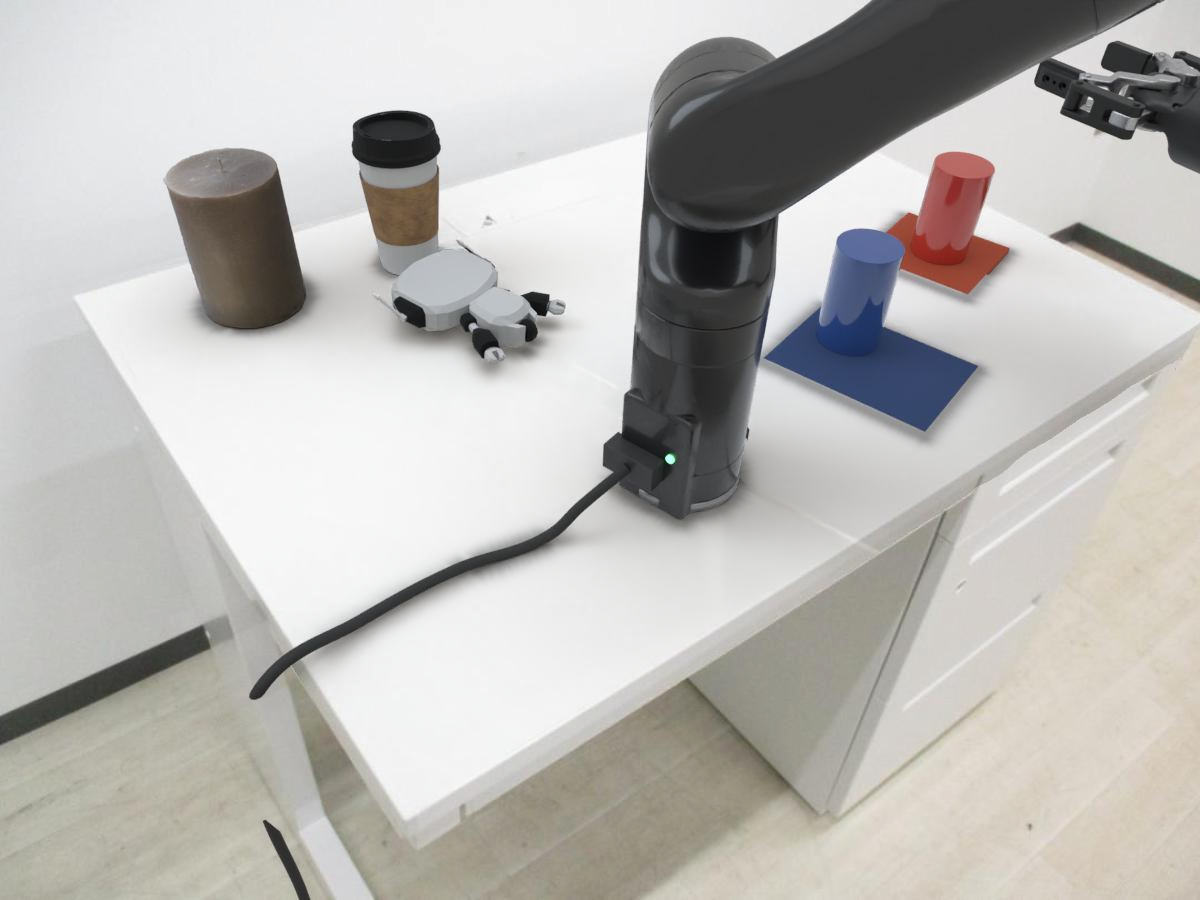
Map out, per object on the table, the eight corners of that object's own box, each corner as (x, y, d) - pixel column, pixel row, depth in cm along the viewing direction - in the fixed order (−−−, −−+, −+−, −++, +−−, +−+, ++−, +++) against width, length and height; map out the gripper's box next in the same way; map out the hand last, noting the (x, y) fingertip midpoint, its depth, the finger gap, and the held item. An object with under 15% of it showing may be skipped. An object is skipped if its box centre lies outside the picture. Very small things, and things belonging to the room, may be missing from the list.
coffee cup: (351, 266, 98) (328, 126, 88) (405, 232, 103) (389, 96, 93) (415, 292, 95) (398, 150, 85) (466, 255, 100) (456, 117, 90)
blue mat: (923, 436, 81) (925, 431, 81) (762, 362, 88) (763, 357, 88) (976, 370, 88) (978, 365, 88) (824, 307, 95) (825, 302, 95)
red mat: (966, 298, 97) (967, 294, 97) (860, 258, 102) (861, 253, 102) (1008, 252, 104) (1010, 247, 104) (907, 216, 110) (908, 212, 109)
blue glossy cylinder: (861, 364, 87) (886, 271, 81) (804, 339, 90) (824, 247, 83) (889, 335, 91) (916, 243, 84) (833, 312, 94) (855, 221, 87)
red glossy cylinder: (952, 271, 100) (981, 184, 93) (900, 252, 102) (924, 165, 96) (974, 249, 103) (1004, 163, 97) (923, 231, 106) (948, 146, 99)
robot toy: (572, 328, 93) (454, 268, 98) (575, 289, 89) (453, 230, 95) (493, 392, 85) (370, 324, 90) (494, 353, 82) (366, 284, 87)
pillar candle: (318, 313, 92) (288, 169, 82) (215, 340, 88) (170, 192, 78) (291, 265, 98) (260, 125, 88) (193, 288, 94) (149, 145, 84)
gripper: (1341, 67, 69) (1145, 1, 79) (1228, 105, 63) (1031, 28, 73) (1287, 164, 74) (1109, 90, 84) (1178, 207, 68) (1001, 122, 78)
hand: (1073, 61), depth 78 cm, fingers open, 8 cm apart
